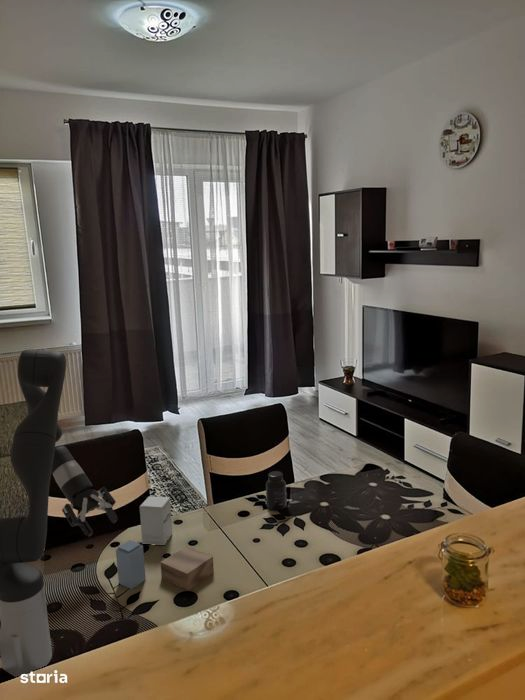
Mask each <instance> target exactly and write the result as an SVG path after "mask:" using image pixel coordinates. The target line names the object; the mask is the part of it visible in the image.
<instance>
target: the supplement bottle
mask: <svg viewBox="0 0 525 700" xmlns="http://www.w3.org/2000/svg"><path fill="white" fill-rule="evenodd" d="M283 475H284V474H283V472H282V471H279V470H274V471H270V472H269V473H268V480H267V481H266V482H265V494H266V497H265V498H266V499H265V500H266V507H267V509H269V510H270V511H274V512H275V511H282V510H284V509H286V508H287V506H288V505H287V503H288V502H287V484H286V483H287V482H286V481H285V480H284V476H283Z"/></svg>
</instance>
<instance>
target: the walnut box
mask: <svg viewBox="0 0 525 700" xmlns="http://www.w3.org/2000/svg"><path fill="white" fill-rule="evenodd" d="M214 572H215V570H214V556H213V555H210V554H207V553H206V552H203V551H200V550H198V549H194V548H193V547H190V546H186V545H185V547H182V548H181V549H179V550H178V551H176V552H174V553H173V554H172V555H170V556H168V557H167V558H165V559H163V560H162V561H160V573H161V574H160V576H161V579H162V580H164V579H165V580H164V581H167V582H169V583H171V584H173V585H176V586H178V587H180V588H183V589H184V590H186V591H190V590H191V589H192V588H194V587H195V586H197V585H198V584H200V583H201V582H202V581H203V580H205V579H207V578H208V577H209V576H211V575H212V574H214Z"/></svg>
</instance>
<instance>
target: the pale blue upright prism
mask: <svg viewBox="0 0 525 700" xmlns="http://www.w3.org/2000/svg"><path fill="white" fill-rule="evenodd" d="M115 556H116V557H115V559H116V566H117V567H116V568H117V577H118V578H117V580H118V584H119V585H121V586H123V587H126V588H128V589H130V590H133V589H135V588H136V587H138V586H139V585H140V584H142V583H143V582H145V581H146V580H147V578H146V569H145V568H146V567H145V555H144V545H143V544H142V543H139V542H136V541H134V540H131V539H129V540H127V541H126V542H124V543H122V544H120V545H119V546H117V548H116V549H115ZM134 587H135V588H134Z"/></svg>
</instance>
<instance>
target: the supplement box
mask: <svg viewBox="0 0 525 700" xmlns="http://www.w3.org/2000/svg"><path fill="white" fill-rule="evenodd" d="M171 506H172V505H171V497H170V496H168V497H167V496H151V495H149V496H147V497H146V499H145V500H144V501H143V502H142V503H141V504H140V505H139V514H140V516H139V517H140V531H141V542H142V543H141V545H143V544H155V545H166V543H168V541H167V540H170V538H171V537H172V536H171V535H173V524H172V523H173V522H172V509H171ZM170 536H171V537H170ZM169 537H170V538H169Z"/></svg>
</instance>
